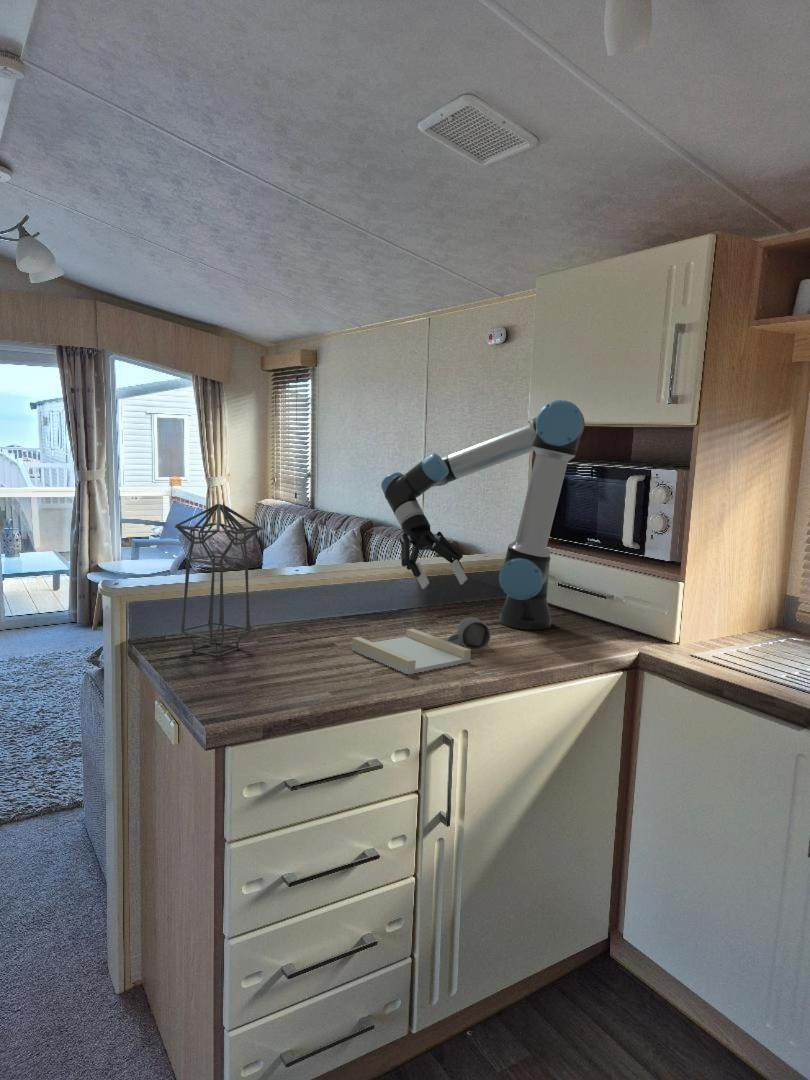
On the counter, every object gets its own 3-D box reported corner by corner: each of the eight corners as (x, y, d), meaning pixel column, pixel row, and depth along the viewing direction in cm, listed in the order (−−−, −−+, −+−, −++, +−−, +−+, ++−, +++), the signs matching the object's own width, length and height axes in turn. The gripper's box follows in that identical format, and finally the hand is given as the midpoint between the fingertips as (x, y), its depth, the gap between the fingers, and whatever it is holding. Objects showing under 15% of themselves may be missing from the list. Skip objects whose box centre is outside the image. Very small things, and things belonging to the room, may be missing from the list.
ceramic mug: (482, 642, 190) (483, 613, 189) (490, 651, 182) (491, 621, 181) (442, 642, 189) (443, 614, 188) (449, 651, 181) (450, 621, 180)
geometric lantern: (167, 651, 169) (169, 502, 165) (214, 638, 183) (217, 501, 179) (219, 663, 162) (222, 507, 158) (263, 648, 175) (267, 505, 172)
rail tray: (411, 640, 189) (412, 628, 188) (469, 662, 172) (470, 649, 171) (352, 650, 177) (352, 637, 176) (407, 675, 160) (408, 661, 159)
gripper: (439, 528, 211) (471, 587, 202) (370, 531, 196) (402, 595, 186) (452, 512, 207) (486, 572, 197) (383, 513, 191) (416, 579, 181)
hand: (445, 583), depth 192 cm, fingers open, 13 cm apart
